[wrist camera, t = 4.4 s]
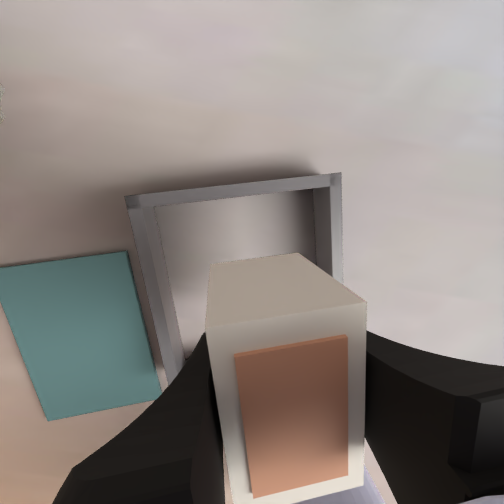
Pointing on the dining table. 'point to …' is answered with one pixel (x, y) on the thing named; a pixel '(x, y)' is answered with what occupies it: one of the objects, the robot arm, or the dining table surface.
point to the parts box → (287, 378)
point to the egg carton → (0, 92)
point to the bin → (143, 212)
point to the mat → (80, 333)
